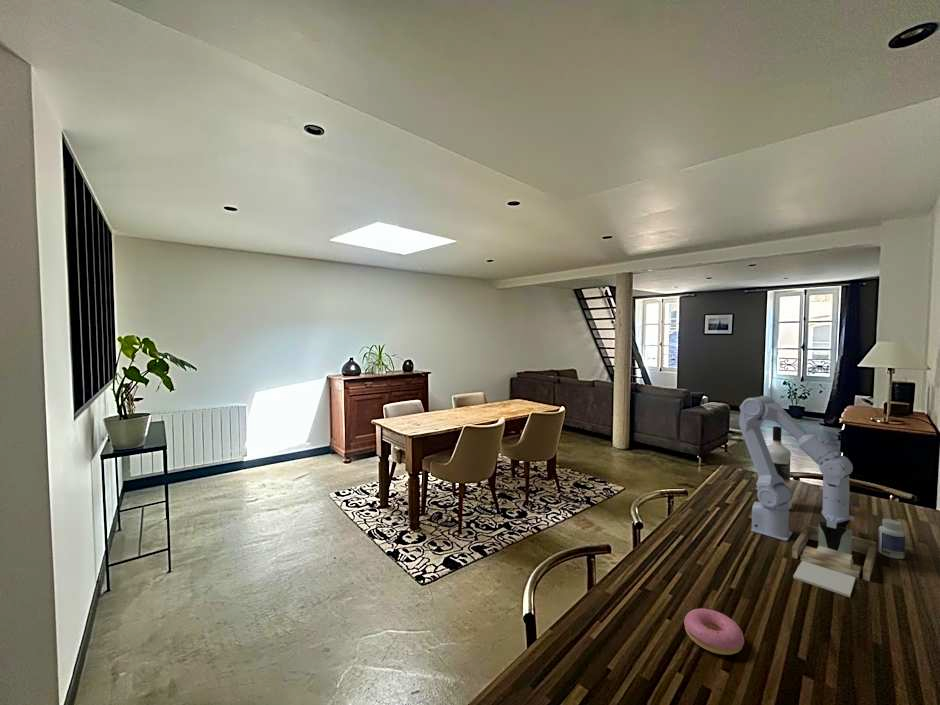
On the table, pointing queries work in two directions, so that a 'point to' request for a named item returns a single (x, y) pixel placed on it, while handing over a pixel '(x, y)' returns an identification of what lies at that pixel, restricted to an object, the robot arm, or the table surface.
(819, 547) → the rack
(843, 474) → the robot arm
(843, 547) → the green panel
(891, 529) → the pill bottle
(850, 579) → the grey pad
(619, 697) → the table surface
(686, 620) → the doughnut
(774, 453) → the vodka
